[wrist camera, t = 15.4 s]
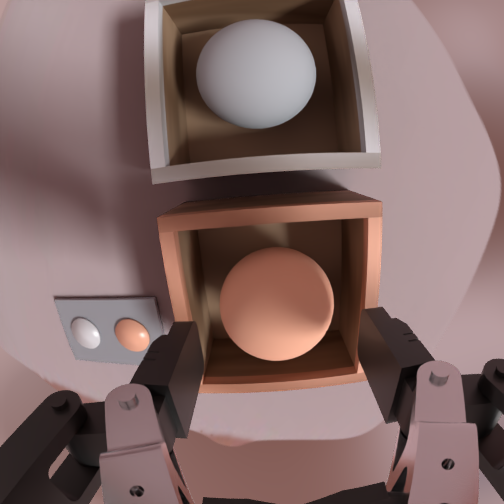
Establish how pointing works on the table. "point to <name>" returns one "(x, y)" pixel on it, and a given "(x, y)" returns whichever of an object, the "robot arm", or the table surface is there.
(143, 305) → the card
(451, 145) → the table surface
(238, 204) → the terracotta-rimmed square box
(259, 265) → the terracotta ball
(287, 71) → the grey ball
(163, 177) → the grey-band box
